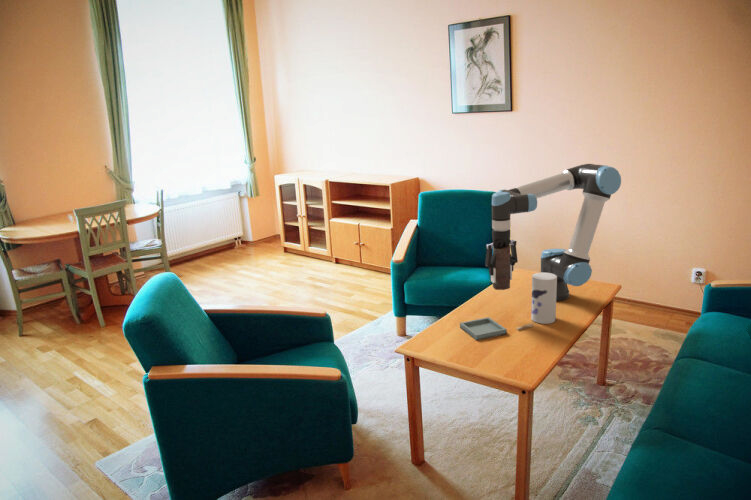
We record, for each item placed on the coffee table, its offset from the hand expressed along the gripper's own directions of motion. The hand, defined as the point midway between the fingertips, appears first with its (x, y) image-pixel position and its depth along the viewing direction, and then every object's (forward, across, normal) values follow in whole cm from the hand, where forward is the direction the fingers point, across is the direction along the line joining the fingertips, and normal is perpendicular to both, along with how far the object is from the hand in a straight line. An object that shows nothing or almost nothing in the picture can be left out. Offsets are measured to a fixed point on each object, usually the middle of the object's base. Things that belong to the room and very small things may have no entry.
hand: (501, 280), depth 228 cm
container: (+18, -14, +10) cm, 25 cm away
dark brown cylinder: (+4, 0, 0) cm, 4 cm away
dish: (+17, +14, +9) cm, 24 cm away
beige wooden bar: (+18, -2, +14) cm, 23 cm away
